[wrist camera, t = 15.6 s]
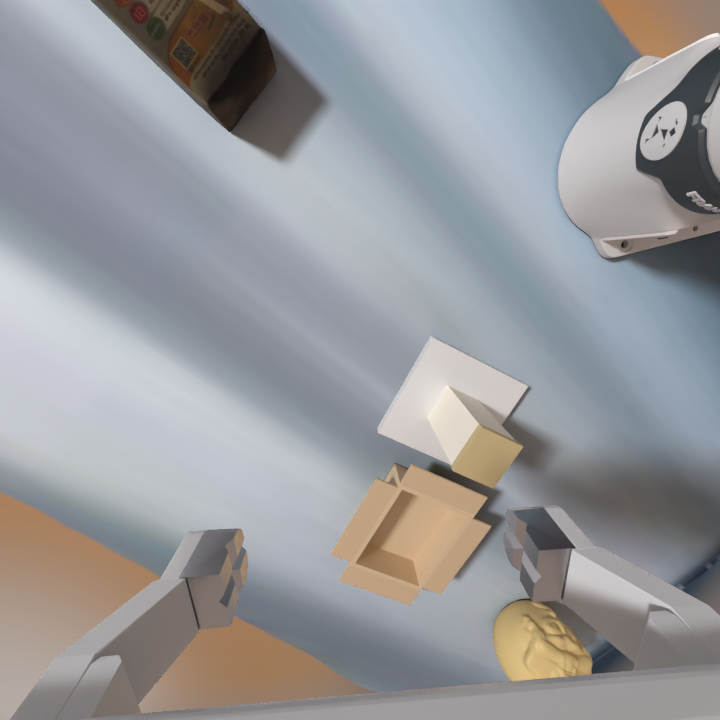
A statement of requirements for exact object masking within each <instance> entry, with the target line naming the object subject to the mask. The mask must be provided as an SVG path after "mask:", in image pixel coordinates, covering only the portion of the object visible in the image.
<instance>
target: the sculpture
mask: <svg viewBox="0 0 720 720" xmlns="http://www.w3.org/2000/svg"><path fill="white" fill-rule="evenodd" d="M493 644H494V649H495V653H496V656H497V659H498V661H499V663H500V665H501V667H502V669H503V670H504V672H505V674H506V675H507V676H508V678H509V679H510V680H511V681H521V680H532V679H543V678H555V677H566V676H578V675H589V674H591V667H592V658H591V656H590V654H589V653H588V651H587V650H586V649H585V647H584V646H583V645H582V642H581V641H580V640H579V639H578V638H577V637H576V636H575V635H574V633H573V632H572V631H571V629H570V628H569V627H568V626H567V625H566V624H564V623H563V622H562V621H561V620H560V619H559V618H558V616H557V615H556V613H555V612H554V611H553V610H552V609H551V608H550V607H548V606H546V605H544V604H543V603H541V602H532V601H529V600H520V601H515V602H513V603H511V604H509V605H508V606H506V607H505V608H504V609H503V610H502V611H501V612H500V614H499V615H498V617H497V618H496V621H495V623H494V627H493Z"/></svg>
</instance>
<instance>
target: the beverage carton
mask: <svg viewBox="0 0 720 720" xmlns="http://www.w3.org/2000/svg"><path fill="white" fill-rule="evenodd" d="M91 1H92V2H93V3H94V4H95V5H96V6H97V7H98V8H99V9H100V10H101V11H102V12H103V13H104V14H105V15H106V16H107V17H108V18H109V19H110V20H112V21H113V22H114V23H115V24H116V25H117V26H118V27H119V28H120V29H121V30H122V31H123V32H124V33H125V34H126V35H127V36H128V37H129V38H130V39H131V40H132V41H133V42H134V43H135V44H136V45H137V46H138V47H139V48H140V49H141V50H142V51H143V52H144V53H145V54H146V55H147V56H148V57H149V58H150V59H151V60H152V61H153V62H154V63H155V64H156V65H157V66H159V67H160V68H161V69H162V70H163V71H164V72H165V73H166V74H167V75H168V76H169V77H170V78H171V79H172V80H173V81H174V82H175V83H176V84H177V85H178V86H179V87H180V88H181V89H183V90H184V91H185V92H186V93H187V94H188V95H189V96H190V97H191V98H192V99H193V100H194V101H195V102H196V103H197V104H198V105H199V106H200V107H202V108H203V109H204V110H205V111H206V112H207V113H208V114H209V115H210V116H212V117H213V118H214V119H215V120H216V121H217V122H218V123H220V124H221V125H222V126H223V127H224V128H225V129H227V130H228V132H230V131H232V129H233V128H234V127H235V125H236V124H237V123H238V121H239V120H240V118H241V117H242V115H243V114H244V113H245V111H246V110H247V109H248V107H249V106H250V105H251V103H252V102H253V101H254V100H255V99H256V98H257V96H258V95H259V93H260V92H261V90H262V89H263V88H264V87H265V86H266V84H267V82H268V81H269V80H270V79H271V77H272V76H273V75H274V74H275V72H276V67H275V62H274V59H273V54H272V51H271V49H270V45H269V42H268V39H267V36H266V33H265V30H263V29H262V28H261V27H260V26H259V25H258V24H257V23H256V22H255V20H254V19H253V18H252V17H251V16H250V14H249V13H248V12H247V11H246V10H245V9H244V8H243V7H242V6H241V5H240V4H239V3H238V1H237V0H91Z"/></svg>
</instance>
